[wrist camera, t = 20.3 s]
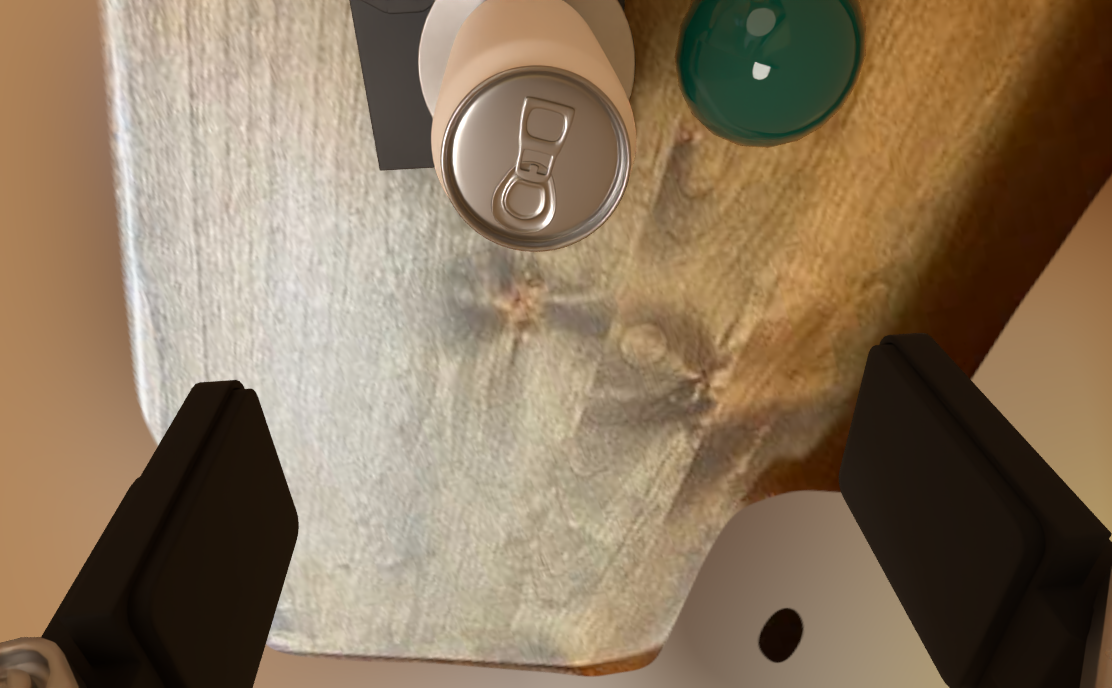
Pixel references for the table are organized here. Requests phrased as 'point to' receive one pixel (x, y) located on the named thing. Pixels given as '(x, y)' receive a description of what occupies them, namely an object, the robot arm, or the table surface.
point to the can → (531, 126)
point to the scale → (395, 79)
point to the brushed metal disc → (457, 3)
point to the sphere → (769, 65)
